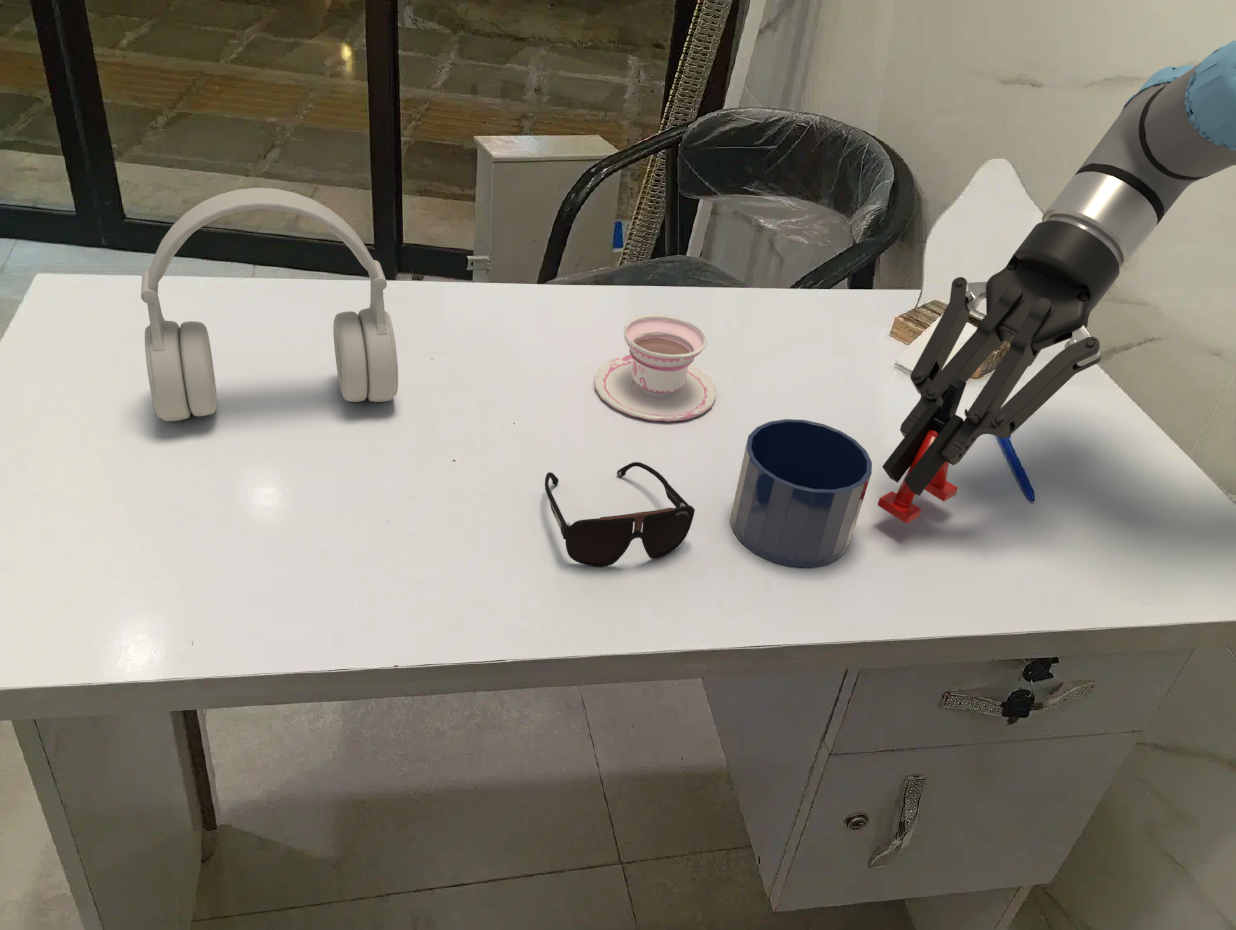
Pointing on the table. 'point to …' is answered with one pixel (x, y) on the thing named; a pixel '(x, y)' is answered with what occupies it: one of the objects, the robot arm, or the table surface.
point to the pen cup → (799, 492)
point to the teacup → (658, 371)
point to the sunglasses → (624, 528)
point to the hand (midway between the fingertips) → (901, 481)
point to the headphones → (185, 351)
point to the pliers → (938, 486)
